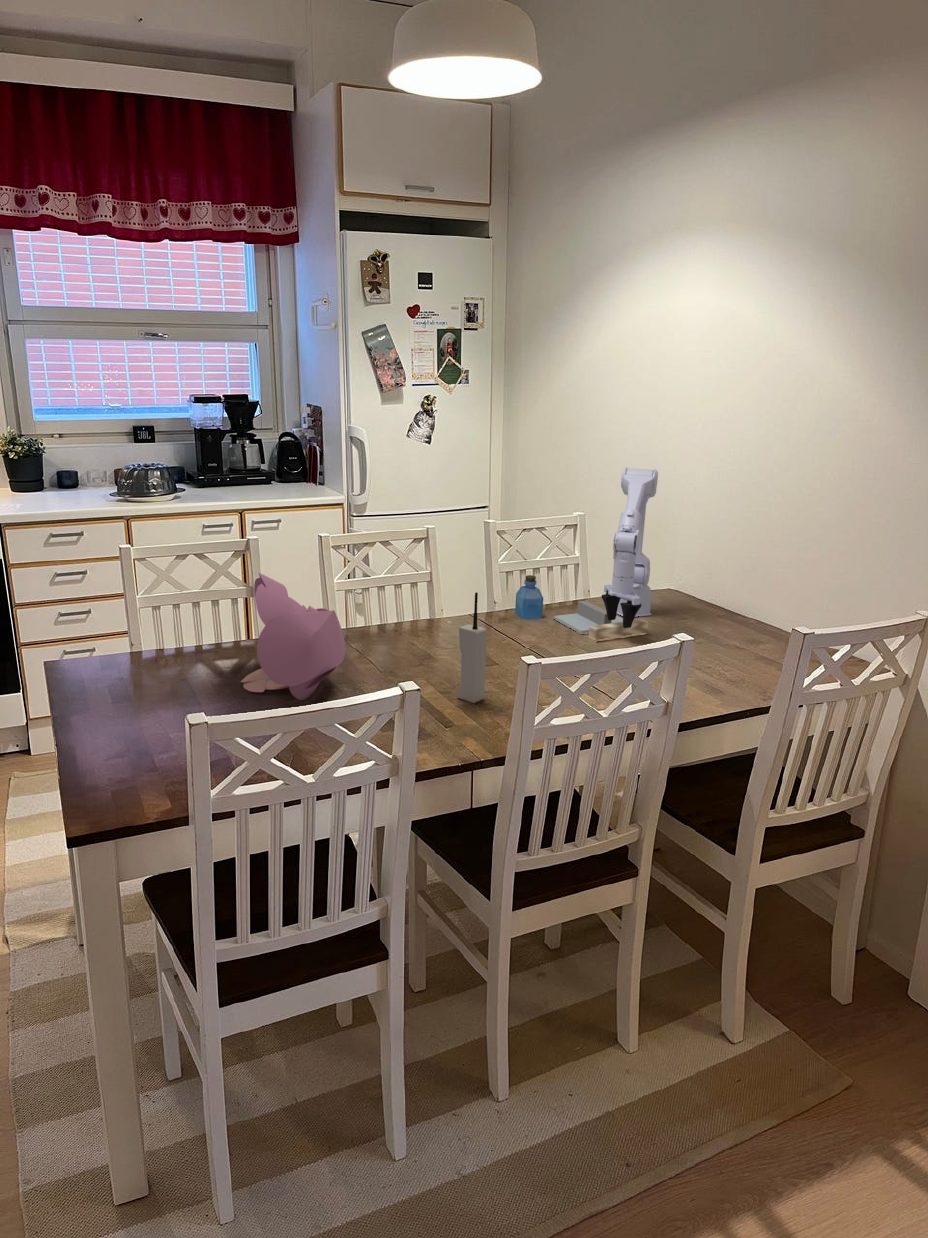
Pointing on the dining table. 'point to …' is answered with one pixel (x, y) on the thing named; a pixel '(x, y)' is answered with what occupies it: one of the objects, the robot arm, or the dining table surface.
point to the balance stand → (586, 617)
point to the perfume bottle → (529, 600)
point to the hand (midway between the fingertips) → (619, 623)
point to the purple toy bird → (293, 642)
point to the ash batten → (617, 629)
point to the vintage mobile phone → (472, 660)
